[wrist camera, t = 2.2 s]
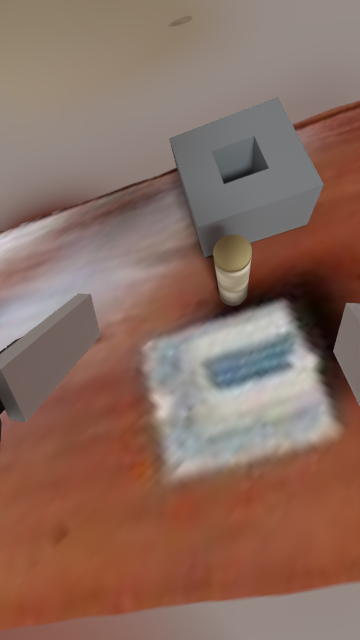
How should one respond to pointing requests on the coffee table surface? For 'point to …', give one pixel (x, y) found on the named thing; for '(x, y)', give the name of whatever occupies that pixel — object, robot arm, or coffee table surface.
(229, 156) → the socket block
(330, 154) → the coffee table surface
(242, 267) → the peg
